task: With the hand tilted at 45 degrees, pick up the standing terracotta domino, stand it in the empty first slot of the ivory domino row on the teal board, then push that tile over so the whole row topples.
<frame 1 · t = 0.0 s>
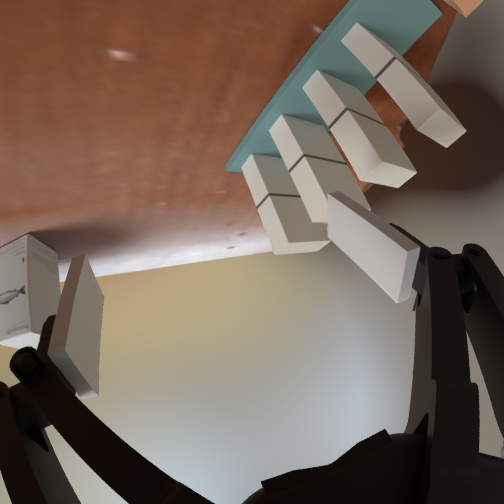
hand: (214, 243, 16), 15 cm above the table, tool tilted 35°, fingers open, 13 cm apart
domino 2: (369, 44, 23), point 1 cm above the table, touching domino board
supplement box: (24, 250, 35), on the table
domino board: (327, 82, 28), on the table
domino 4: (297, 127, 32), point 1 cm above the table, touching domino board
domino 3: (331, 87, 27), point 1 cm above the table, touching domino board
domino 5: (268, 163, 36), point 1 cm above the table, touching domino board
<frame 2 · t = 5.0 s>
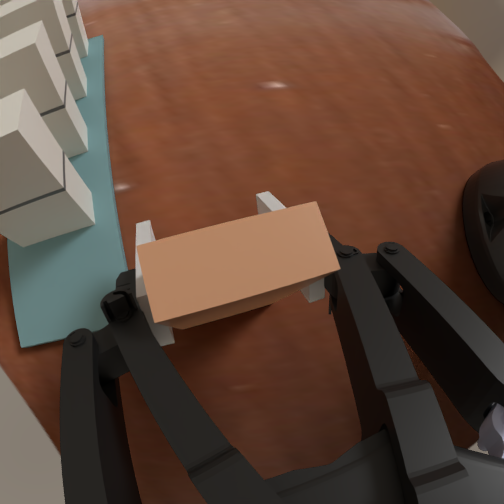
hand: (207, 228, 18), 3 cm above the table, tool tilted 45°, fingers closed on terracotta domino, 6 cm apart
domino 2: (55, 220, 19), point 1 cm above the table, touching domino board
domino board: (57, 155, 21), on the table
domino 4: (56, 97, 22), point 1 cm above the table, touching domino board
domino 3: (53, 150, 20), point 1 cm above the table, touching domino board
domino 5: (60, 58, 23), point 1 cm above the table, touching domino board
terracotta domino: (222, 298, 20), on the table, touching gripper
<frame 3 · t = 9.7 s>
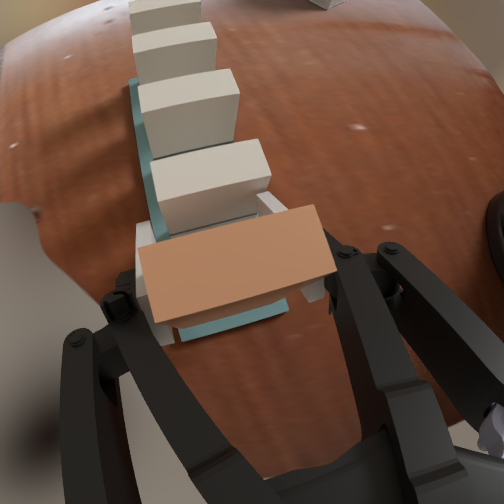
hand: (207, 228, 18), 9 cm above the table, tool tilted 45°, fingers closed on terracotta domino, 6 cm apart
domino 2: (208, 233, 27), point 1 cm above the table, touching domino board, gripper
domino board: (192, 175, 29), on the table
domino 4: (179, 121, 29), point 1 cm above the table, touching domino board
domino 3: (192, 171, 28), point 1 cm above the table, touching domino board
domino 5: (170, 81, 30), point 1 cm above the table, touching domino board
terracotta domino: (222, 298, 21), point 6 cm above the table, touching gripper
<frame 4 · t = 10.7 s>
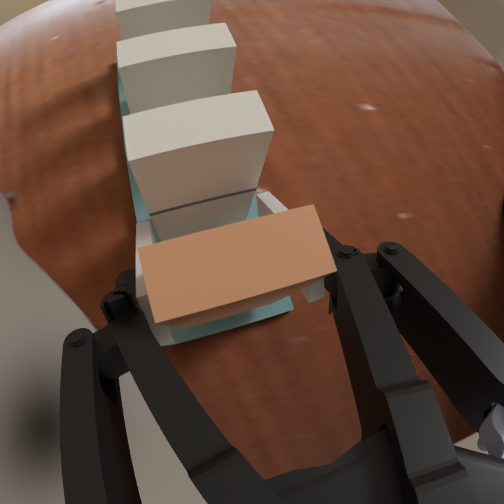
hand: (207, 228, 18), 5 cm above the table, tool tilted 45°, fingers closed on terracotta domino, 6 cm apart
domino 2: (200, 218, 23), point 1 cm above the table, touching domino board
domino board: (182, 155, 25), on the table
domino 4: (169, 96, 25), point 1 cm above the table, touching domino board
domino 3: (182, 150, 24), point 1 cm above the table, touching domino board
terracotta domino: (222, 298, 21), point 2 cm above the table, touching gripper
when the fingers open (5 cm above the table, at t = 11.2 s): terracotta domino moves 1 cm and tips over, resting on domino 2, domino board.
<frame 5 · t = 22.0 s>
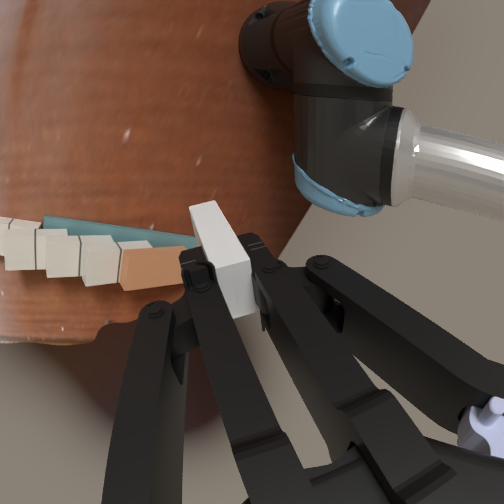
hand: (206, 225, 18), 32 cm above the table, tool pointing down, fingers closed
domino 2: (146, 259, 51), point 2 cm above the table, tilted 67°, touching domino 3, terracotta domino
domino board: (121, 250, 51), on the table
domino 4: (66, 248, 46), point 2 cm above the table, tilted 74°, touching domino 5
domino 3: (110, 254, 49), point 2 cm above the table, tilted 72°, touching domino 2, domino board
domino 5: (39, 241, 44), point 1 cm above the table, tilted 90°, touching domino 4
terracotta domino: (183, 264, 54), point 2 cm above the table, tilted 68°, touching domino 2, domino board
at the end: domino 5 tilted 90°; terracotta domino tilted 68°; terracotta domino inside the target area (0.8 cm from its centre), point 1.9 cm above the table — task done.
